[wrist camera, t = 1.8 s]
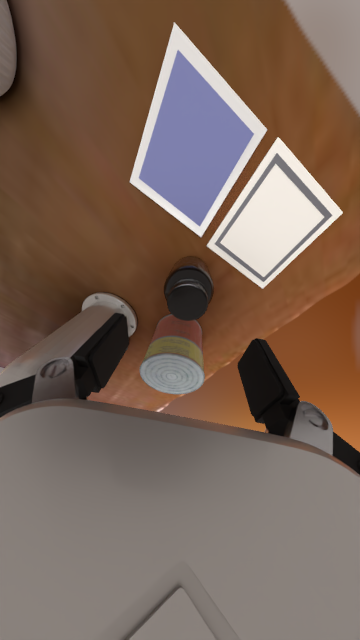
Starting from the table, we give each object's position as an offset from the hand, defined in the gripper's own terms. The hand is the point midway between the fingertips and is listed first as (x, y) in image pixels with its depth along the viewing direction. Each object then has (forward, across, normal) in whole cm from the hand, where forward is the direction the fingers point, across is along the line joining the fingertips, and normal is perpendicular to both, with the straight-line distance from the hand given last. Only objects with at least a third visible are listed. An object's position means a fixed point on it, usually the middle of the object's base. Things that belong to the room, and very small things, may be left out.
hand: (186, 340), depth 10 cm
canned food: (+18, +1, +15) cm, 23 cm away
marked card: (+18, -10, -8) cm, 22 cm away
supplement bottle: (+18, 0, 0) cm, 18 cm away
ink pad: (+18, +3, -14) cm, 23 cm away
